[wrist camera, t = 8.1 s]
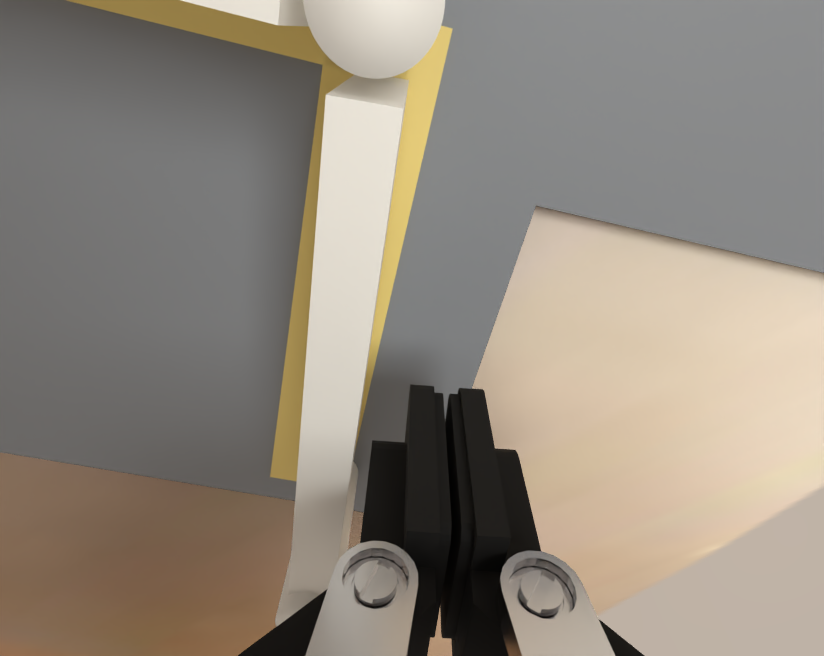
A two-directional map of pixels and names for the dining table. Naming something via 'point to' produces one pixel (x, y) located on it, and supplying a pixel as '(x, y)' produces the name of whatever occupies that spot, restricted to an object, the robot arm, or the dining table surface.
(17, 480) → the dining table surface
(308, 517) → the fence gate
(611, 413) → the dining table surface
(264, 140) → the fence base
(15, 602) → the dining table surface
